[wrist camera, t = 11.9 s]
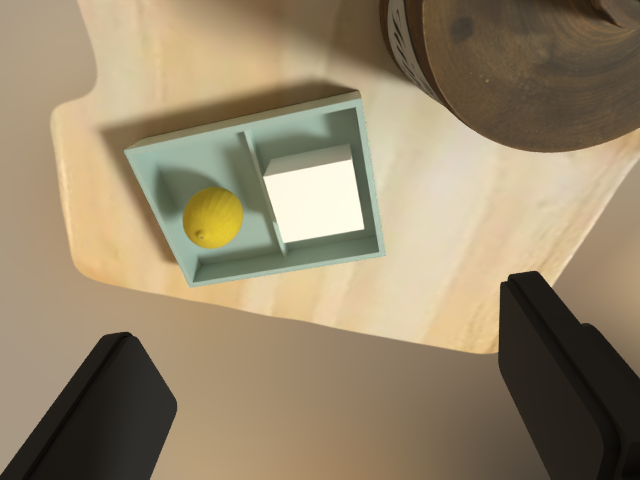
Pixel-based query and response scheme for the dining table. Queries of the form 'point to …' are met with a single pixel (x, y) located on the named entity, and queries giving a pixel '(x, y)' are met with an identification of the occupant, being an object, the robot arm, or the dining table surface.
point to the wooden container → (524, 66)
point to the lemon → (212, 217)
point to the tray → (256, 187)
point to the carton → (314, 193)
